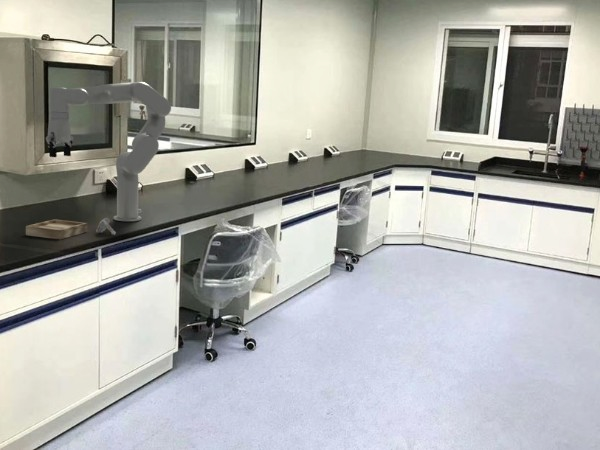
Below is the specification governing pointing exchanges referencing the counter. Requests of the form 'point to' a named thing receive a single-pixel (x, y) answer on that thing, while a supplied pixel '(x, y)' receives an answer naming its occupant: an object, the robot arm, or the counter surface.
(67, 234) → the beech platter
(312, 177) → the counter surface
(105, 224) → the stand
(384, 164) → the counter surface
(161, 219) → the counter surface
